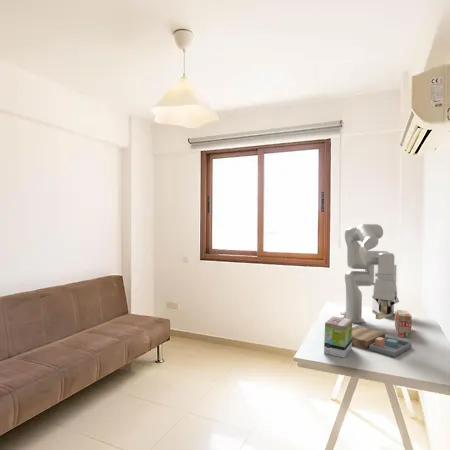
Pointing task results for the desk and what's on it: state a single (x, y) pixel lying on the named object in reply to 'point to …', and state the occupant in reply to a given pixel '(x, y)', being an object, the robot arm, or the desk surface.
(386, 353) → the box
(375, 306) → the tall white pillar
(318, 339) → the desk surface
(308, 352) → the desk surface
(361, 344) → the brown wooden board
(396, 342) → the teal block
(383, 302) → the scraper
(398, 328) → the stack of blocks
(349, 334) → the tea box
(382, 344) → the terracotta tile
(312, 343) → the desk surface
